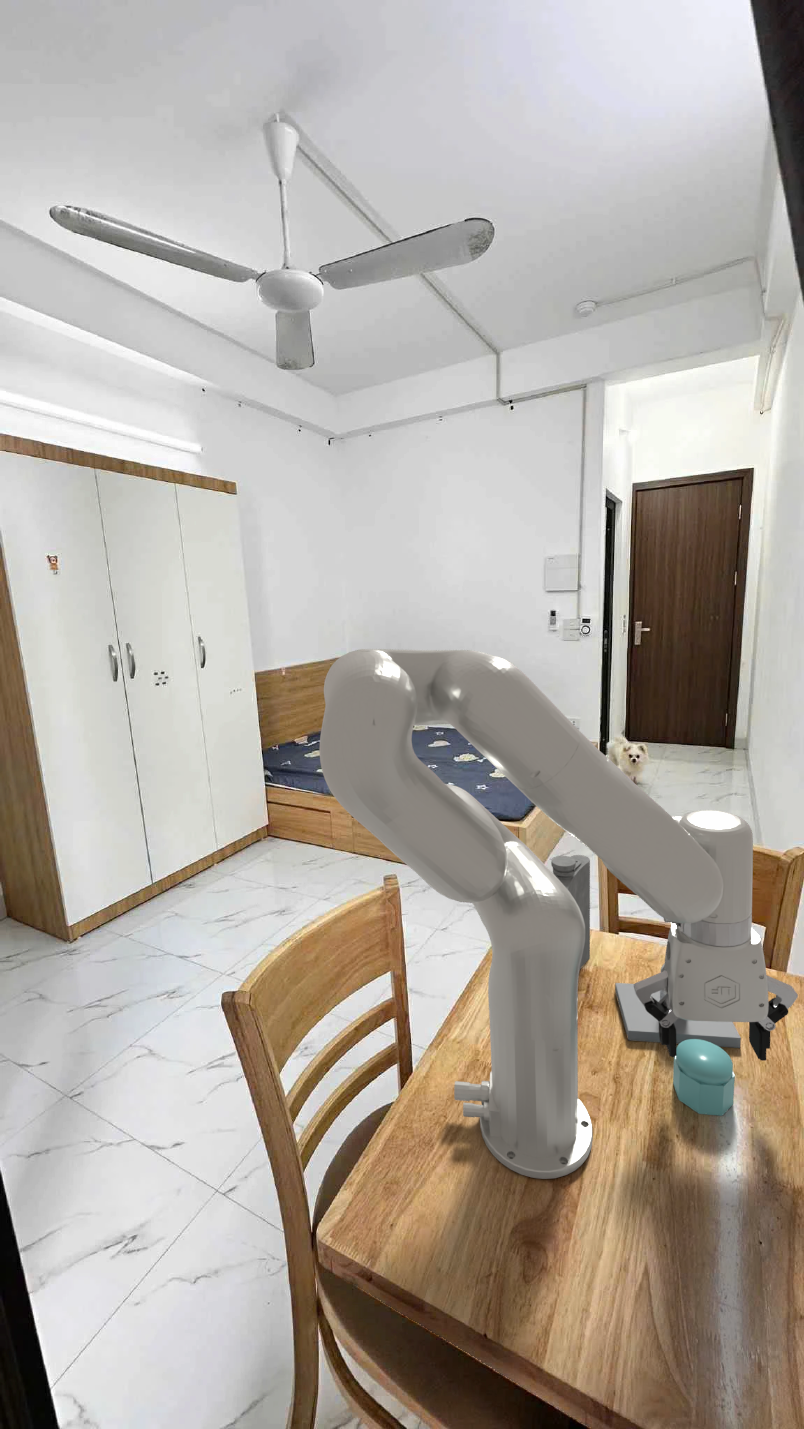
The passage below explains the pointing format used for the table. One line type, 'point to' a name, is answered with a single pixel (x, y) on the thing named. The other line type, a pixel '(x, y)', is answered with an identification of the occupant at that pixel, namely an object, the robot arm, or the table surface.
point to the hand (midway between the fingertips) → (713, 1049)
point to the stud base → (647, 1026)
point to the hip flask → (576, 889)
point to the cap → (703, 1077)
